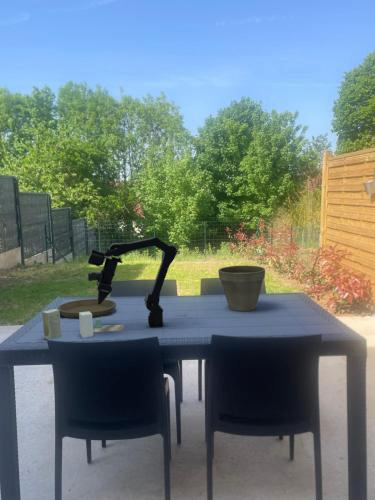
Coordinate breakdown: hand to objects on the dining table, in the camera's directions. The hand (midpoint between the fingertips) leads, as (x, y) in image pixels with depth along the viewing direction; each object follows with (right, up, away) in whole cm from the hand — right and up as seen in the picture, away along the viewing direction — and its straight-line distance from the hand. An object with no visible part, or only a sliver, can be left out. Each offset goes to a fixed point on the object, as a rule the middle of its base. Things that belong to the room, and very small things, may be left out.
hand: (98, 301), depth 196 cm
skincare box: (-19, -15, -7) cm, 25 cm away
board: (+4, -13, +3) cm, 14 cm away
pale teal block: (-1, -12, +5) cm, 13 cm away
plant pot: (+70, -8, +36) cm, 79 cm away
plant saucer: (-14, -11, +36) cm, 40 cm away
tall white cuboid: (-4, -14, -7) cm, 17 cm away
